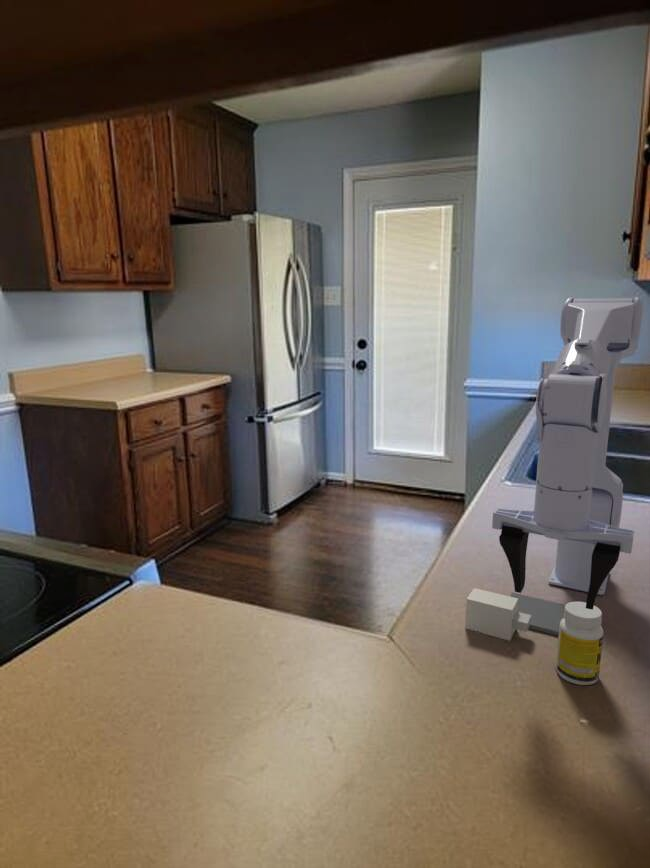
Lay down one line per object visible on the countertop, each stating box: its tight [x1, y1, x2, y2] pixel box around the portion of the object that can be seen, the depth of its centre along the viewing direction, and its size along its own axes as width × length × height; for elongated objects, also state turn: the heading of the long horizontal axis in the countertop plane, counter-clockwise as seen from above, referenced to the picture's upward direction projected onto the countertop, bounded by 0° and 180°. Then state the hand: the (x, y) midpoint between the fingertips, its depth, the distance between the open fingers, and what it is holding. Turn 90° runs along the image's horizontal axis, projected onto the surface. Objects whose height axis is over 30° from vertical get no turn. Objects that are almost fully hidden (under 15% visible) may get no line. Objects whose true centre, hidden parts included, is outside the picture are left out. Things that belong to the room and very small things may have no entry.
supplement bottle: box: [555, 601, 604, 686], centre depth 68 cm, size 5×5×8 cm
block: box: [464, 587, 531, 642], centre depth 78 cm, size 4×8×4 cm, turn 60°
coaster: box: [509, 592, 566, 637], centre depth 82 cm, size 8×8×1 cm
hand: (553, 596), depth 67 cm, fingers open, 7 cm apart
